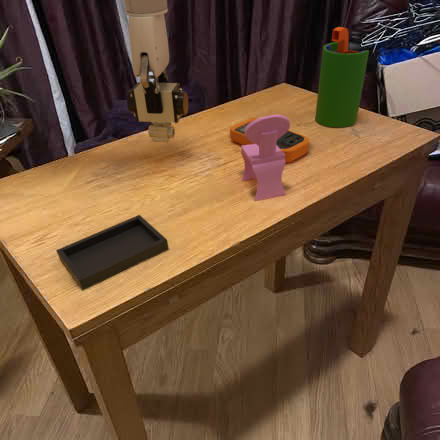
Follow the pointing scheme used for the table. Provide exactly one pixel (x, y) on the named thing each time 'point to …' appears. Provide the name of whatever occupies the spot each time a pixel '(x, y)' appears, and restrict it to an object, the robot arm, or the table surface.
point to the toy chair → (265, 155)
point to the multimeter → (287, 143)
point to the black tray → (111, 251)
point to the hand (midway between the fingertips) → (159, 106)
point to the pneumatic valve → (172, 109)
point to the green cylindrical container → (340, 82)
